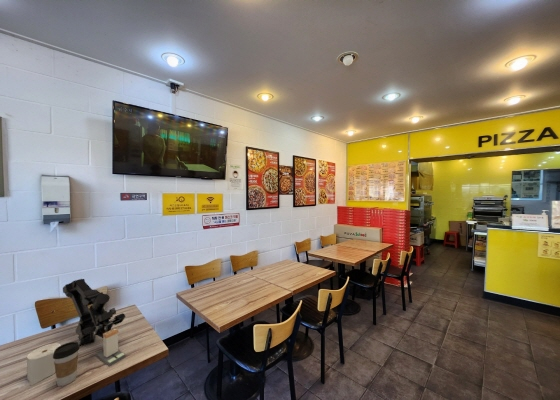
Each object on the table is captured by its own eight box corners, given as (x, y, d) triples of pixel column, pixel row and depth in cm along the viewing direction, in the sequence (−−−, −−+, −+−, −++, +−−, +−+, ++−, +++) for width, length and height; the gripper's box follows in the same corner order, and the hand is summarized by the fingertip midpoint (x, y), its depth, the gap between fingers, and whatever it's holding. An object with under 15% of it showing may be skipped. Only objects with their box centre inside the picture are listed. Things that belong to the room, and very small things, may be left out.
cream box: (103, 355, 108) (103, 333, 108) (115, 349, 112) (115, 328, 112) (106, 357, 106) (106, 335, 106) (118, 351, 111) (118, 329, 111)
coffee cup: (63, 390, 90) (62, 354, 90) (47, 386, 92) (47, 351, 92) (84, 374, 99) (84, 341, 99) (70, 371, 100) (70, 339, 100)
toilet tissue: (59, 360, 108) (59, 340, 108) (63, 372, 100) (62, 350, 100) (26, 373, 99) (26, 352, 99) (27, 388, 92) (27, 364, 92)
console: (95, 356, 110) (95, 353, 110) (111, 348, 116) (111, 345, 116) (109, 366, 103) (109, 363, 103) (125, 357, 109) (125, 354, 109)
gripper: (80, 313, 105) (91, 343, 99) (123, 298, 121) (134, 323, 115) (73, 326, 108) (83, 355, 103) (116, 309, 125) (127, 333, 119)
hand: (109, 340), depth 110 cm, fingers closed, pressing on cream box
